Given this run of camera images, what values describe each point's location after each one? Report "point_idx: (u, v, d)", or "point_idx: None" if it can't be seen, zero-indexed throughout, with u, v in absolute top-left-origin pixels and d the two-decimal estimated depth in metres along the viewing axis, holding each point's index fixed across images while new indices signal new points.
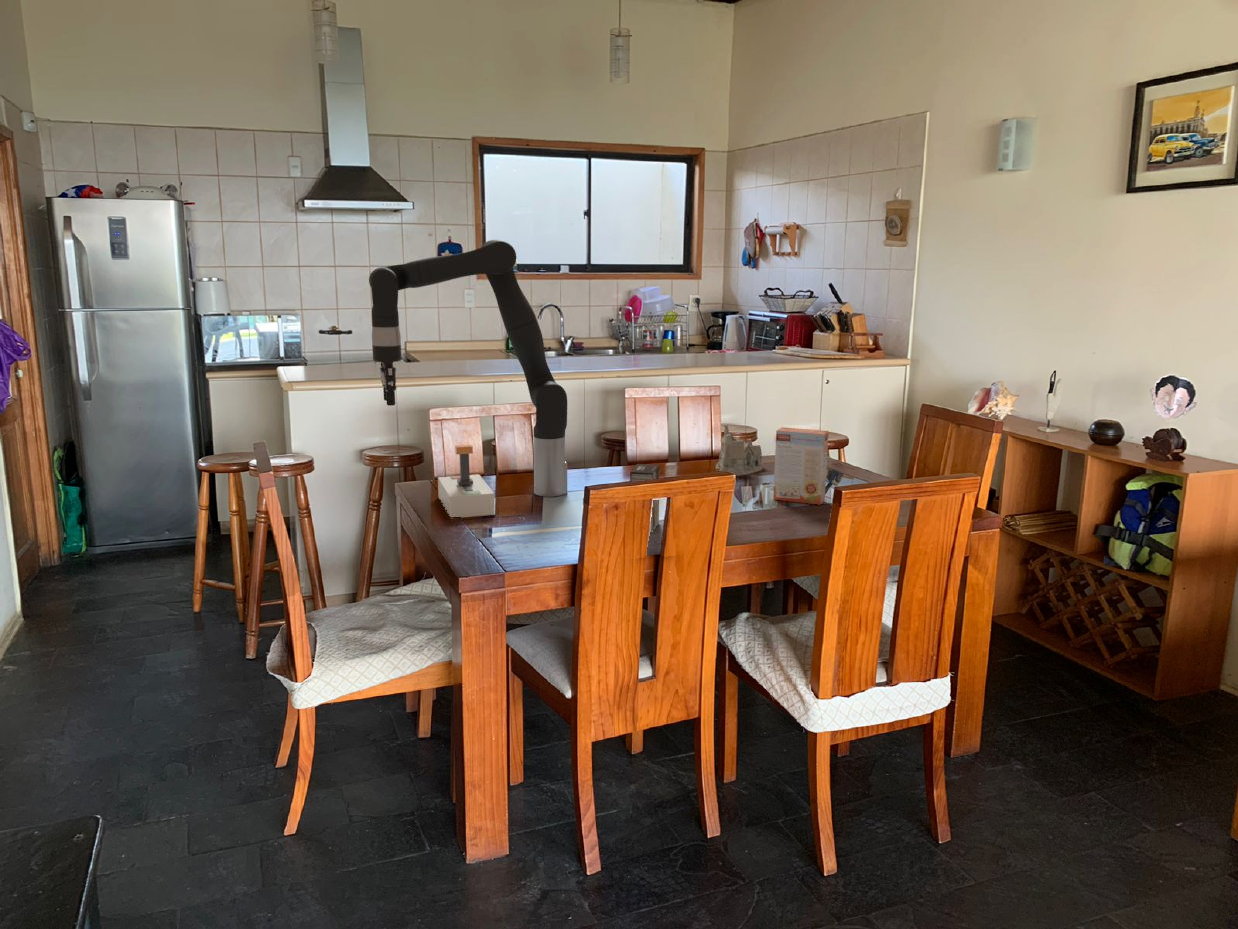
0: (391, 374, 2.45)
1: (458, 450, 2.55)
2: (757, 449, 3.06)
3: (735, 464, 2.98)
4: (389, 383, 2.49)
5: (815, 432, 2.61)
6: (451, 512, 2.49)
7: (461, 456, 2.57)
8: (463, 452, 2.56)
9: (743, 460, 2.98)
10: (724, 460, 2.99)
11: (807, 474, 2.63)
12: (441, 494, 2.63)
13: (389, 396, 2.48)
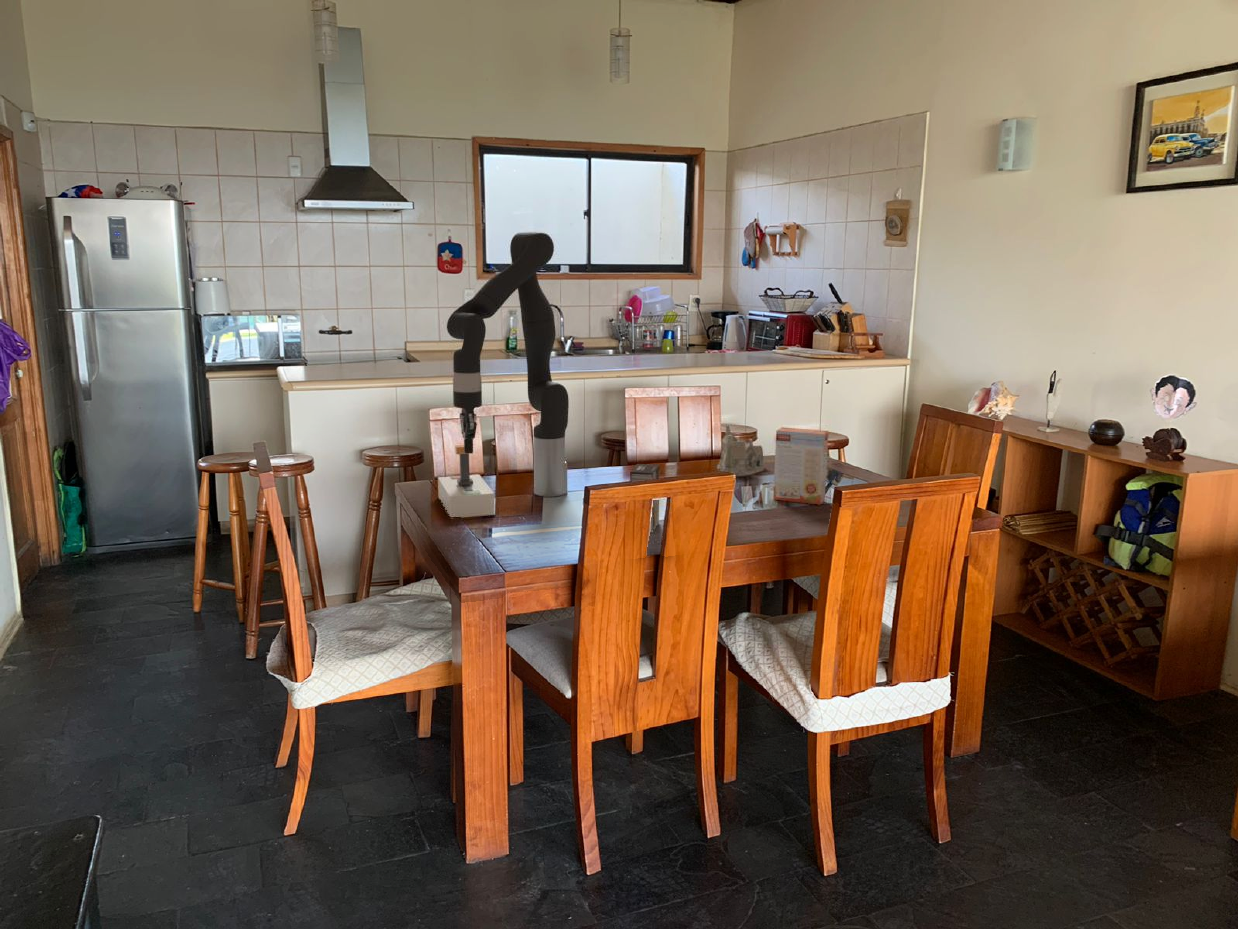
0: (472, 428, 2.43)
1: (458, 450, 2.55)
2: (758, 449, 3.06)
3: (737, 464, 2.97)
4: None
5: (815, 432, 2.61)
6: (451, 512, 2.49)
7: (461, 456, 2.57)
8: (463, 452, 2.56)
9: (745, 460, 2.98)
10: (726, 461, 2.99)
11: (807, 474, 2.63)
12: (441, 494, 2.63)
13: (467, 444, 2.47)
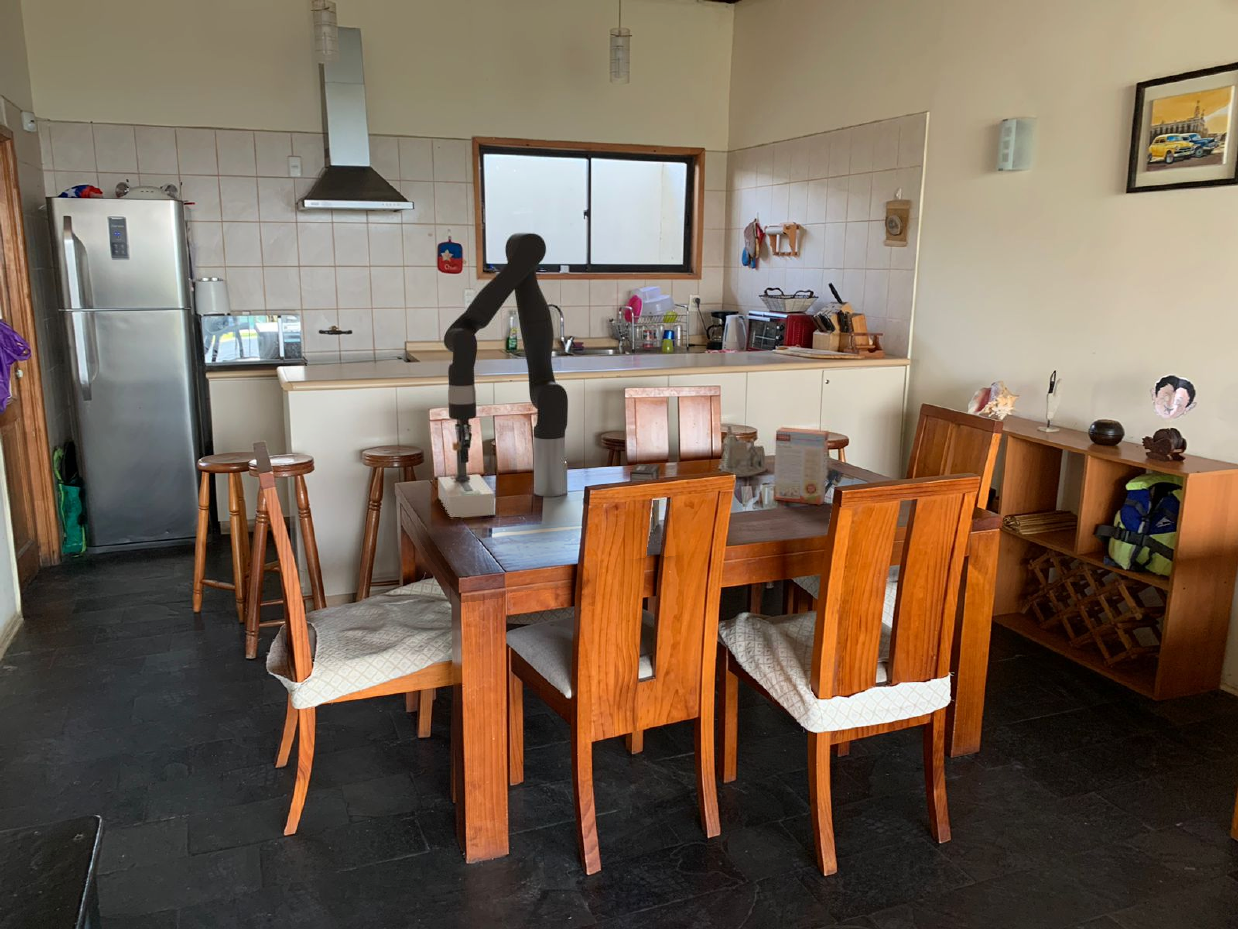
0: (467, 439, 2.52)
1: (455, 446, 2.60)
2: (760, 450, 3.05)
3: (739, 465, 2.97)
4: None
5: (815, 432, 2.61)
6: (451, 512, 2.49)
7: (458, 452, 2.61)
8: None
9: (747, 461, 2.97)
10: (728, 461, 2.98)
11: (807, 474, 2.63)
12: (441, 494, 2.63)
13: (463, 454, 2.57)
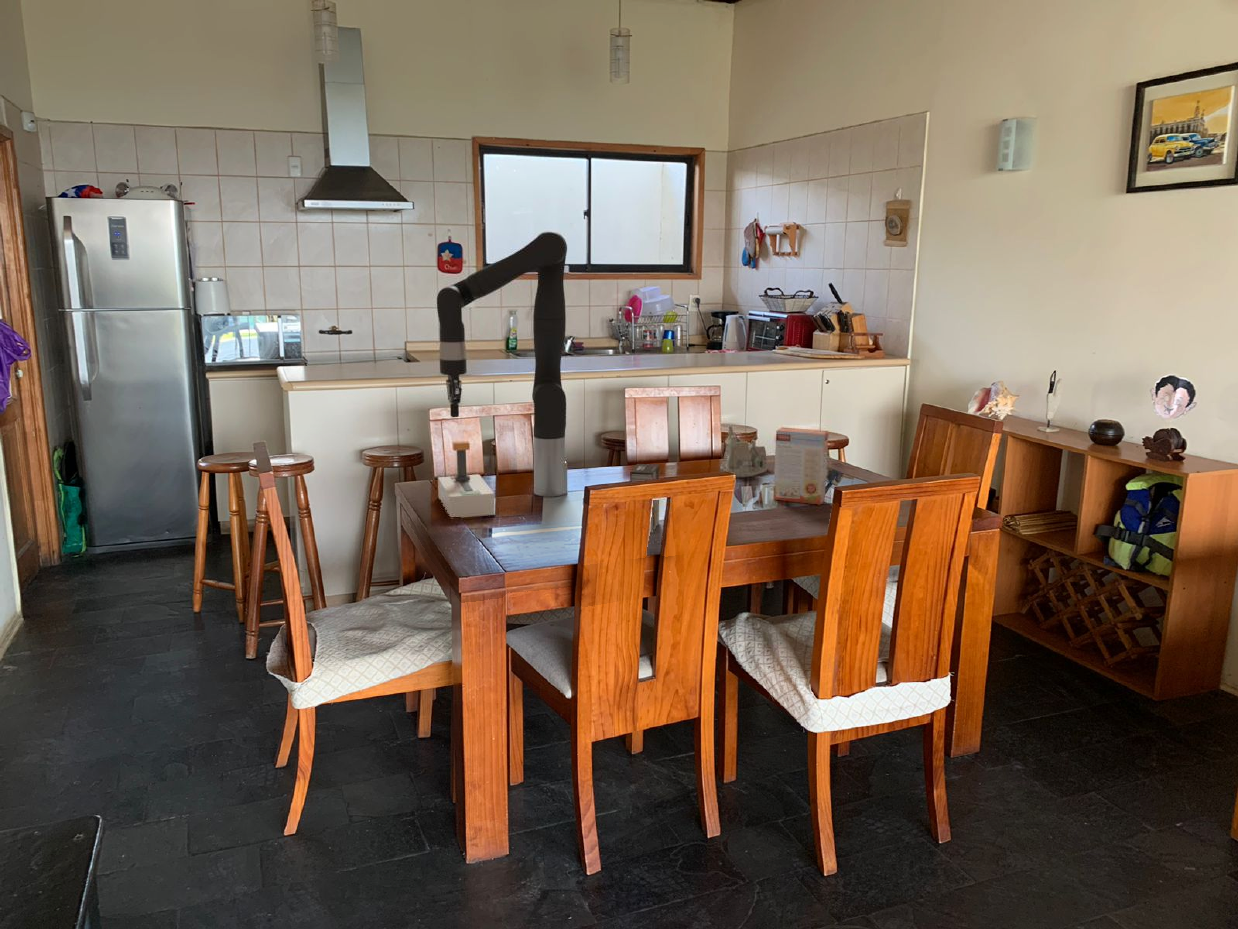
0: (457, 393, 2.63)
1: (455, 446, 2.60)
2: (761, 450, 3.05)
3: (741, 465, 2.96)
4: None
5: (815, 432, 2.61)
6: (451, 512, 2.49)
7: (458, 452, 2.61)
8: (460, 448, 2.61)
9: (748, 461, 2.96)
10: (729, 461, 2.97)
11: (807, 474, 2.63)
12: (441, 494, 2.63)
13: (453, 408, 2.67)
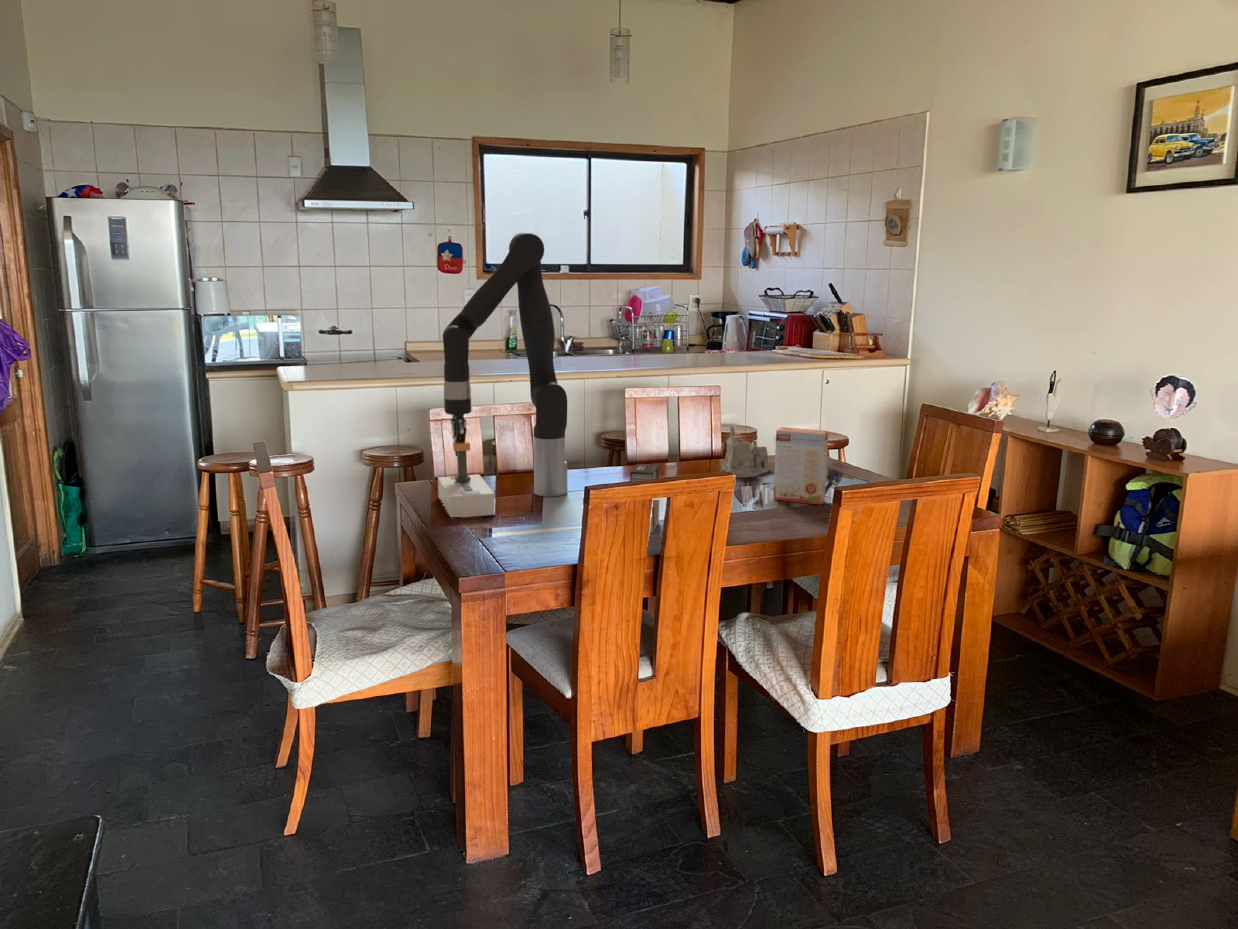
0: (462, 433, 2.59)
1: (456, 447, 2.59)
2: (763, 450, 3.04)
3: (742, 466, 2.96)
4: None
5: (815, 432, 2.61)
6: (451, 512, 2.49)
7: (459, 453, 2.60)
8: (460, 449, 2.60)
9: (750, 462, 2.96)
10: (731, 462, 2.97)
11: (807, 474, 2.63)
12: (441, 494, 2.63)
13: None
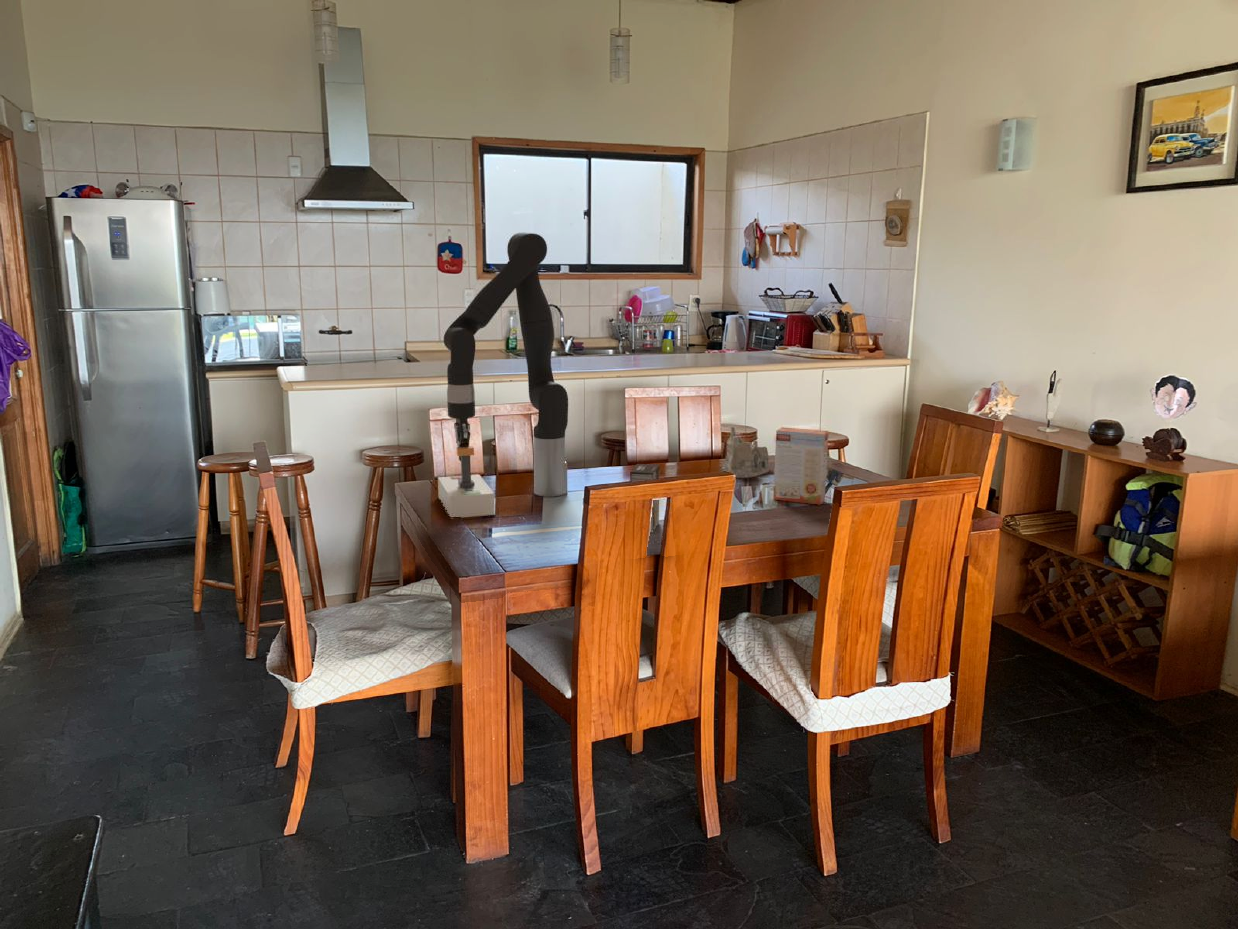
0: (466, 438, 2.53)
1: (459, 452, 2.53)
2: (763, 450, 3.04)
3: (743, 466, 2.95)
4: None
5: (815, 432, 2.61)
6: (451, 512, 2.49)
7: (462, 458, 2.55)
8: (464, 454, 2.54)
9: (751, 462, 2.96)
10: (732, 462, 2.97)
11: (807, 474, 2.63)
12: (441, 494, 2.63)
13: None
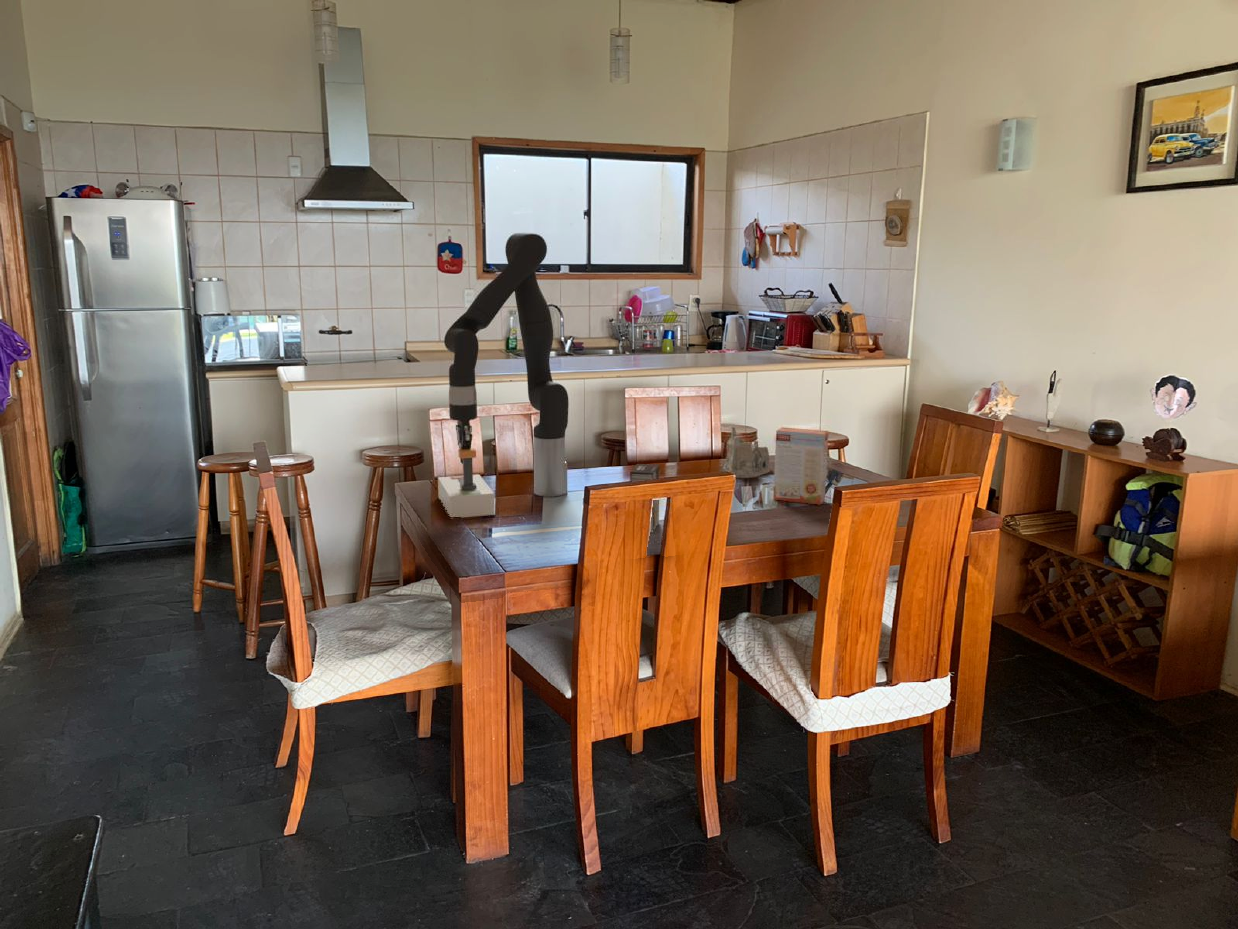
0: (468, 440, 2.51)
1: (461, 454, 2.51)
2: (764, 451, 3.04)
3: (744, 466, 2.95)
4: None
5: (815, 432, 2.61)
6: (451, 512, 2.49)
7: (464, 460, 2.52)
8: (466, 456, 2.51)
9: (752, 462, 2.96)
10: (733, 462, 2.96)
11: (807, 474, 2.63)
12: (441, 494, 2.63)
13: None
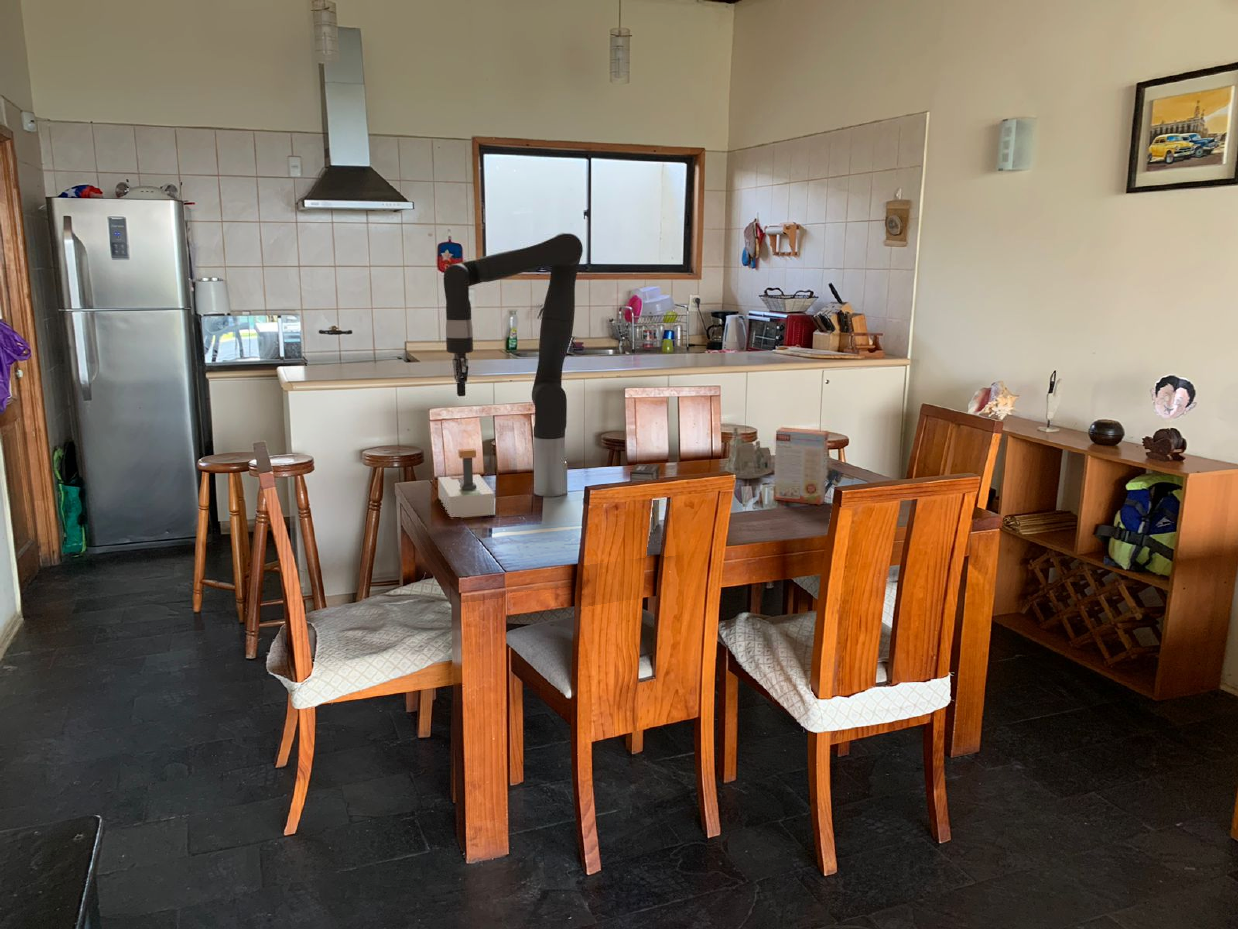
0: (464, 372, 2.61)
1: (461, 454, 2.51)
2: (766, 451, 3.03)
3: (747, 467, 2.94)
4: None
5: (815, 432, 2.61)
6: (451, 512, 2.49)
7: (464, 460, 2.52)
8: (466, 456, 2.51)
9: (754, 463, 2.95)
10: (735, 463, 2.95)
11: (807, 474, 2.63)
12: (441, 494, 2.63)
13: (460, 387, 2.66)
